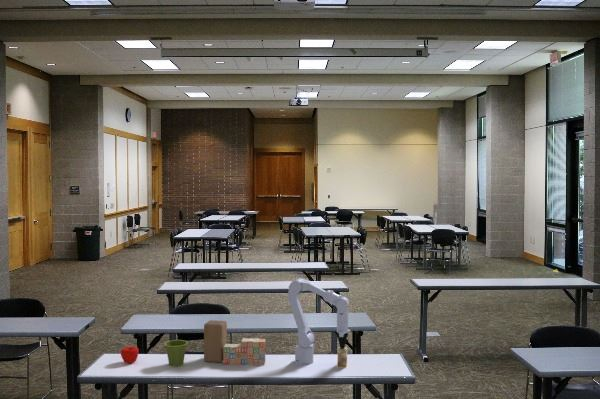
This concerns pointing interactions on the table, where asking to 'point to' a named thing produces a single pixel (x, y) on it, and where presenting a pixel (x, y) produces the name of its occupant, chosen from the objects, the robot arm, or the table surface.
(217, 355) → the block
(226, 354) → the stack of blocks
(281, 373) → the table surface
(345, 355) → the maple block
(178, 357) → the plant pot
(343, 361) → the oak block
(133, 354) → the apple
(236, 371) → the table surface
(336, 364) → the board
